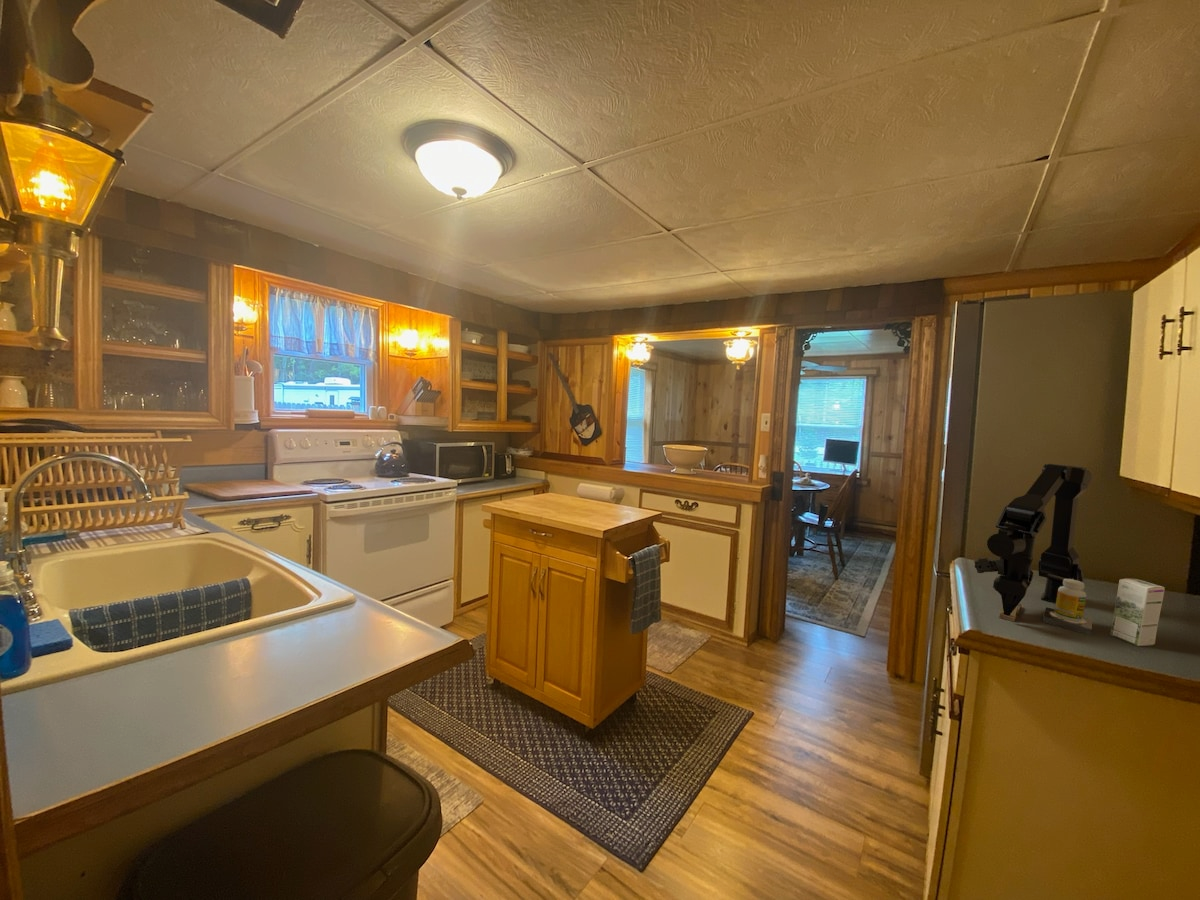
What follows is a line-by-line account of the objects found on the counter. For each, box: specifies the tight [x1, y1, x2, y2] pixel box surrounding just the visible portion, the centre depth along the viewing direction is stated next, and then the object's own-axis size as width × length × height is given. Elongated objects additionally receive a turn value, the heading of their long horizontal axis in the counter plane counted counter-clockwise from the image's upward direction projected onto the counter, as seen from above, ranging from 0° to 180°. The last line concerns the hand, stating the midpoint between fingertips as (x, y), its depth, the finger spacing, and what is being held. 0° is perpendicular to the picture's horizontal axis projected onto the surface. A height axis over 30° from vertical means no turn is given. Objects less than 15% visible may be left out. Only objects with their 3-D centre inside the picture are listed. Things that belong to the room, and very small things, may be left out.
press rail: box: [999, 603, 1022, 623], centre depth 135 cm, size 14×3×1 cm, turn 135°
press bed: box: [1042, 606, 1093, 636], centre depth 130 cm, size 9×9×2 cm
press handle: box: [1000, 603, 1018, 617], centre depth 131 cm, size 3×3×5 cm
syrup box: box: [1109, 577, 1166, 647], centre depth 122 cm, size 6×6×14 cm
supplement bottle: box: [1054, 579, 1087, 621], centre depth 130 cm, size 5×5×10 cm
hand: (1009, 610), depth 131 cm, fingers open, 9 cm apart
